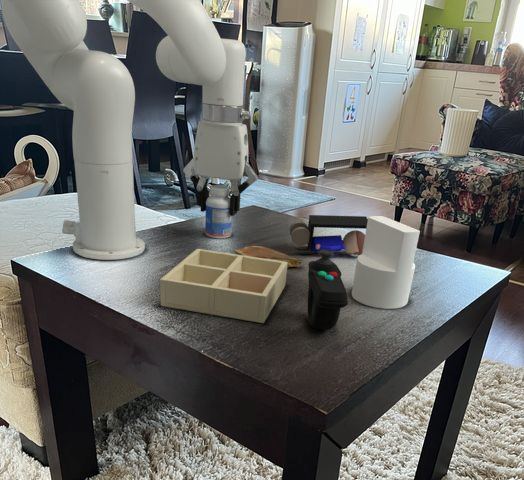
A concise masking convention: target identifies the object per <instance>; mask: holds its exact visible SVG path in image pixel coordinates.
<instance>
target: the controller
mask: <svg viewBox="0 0 524 480" xmlns="http://www.w3.org/2000/svg"><path fill="white" fill-rule="evenodd" d="M334 253H335V252H334V251H330V250H320V251H319V252H318V255H319V256H320V258H318V259H317V260H311V261H308V273H307V278H308V279H307V280H308V289H307V317H308V318H307V319H308V324H309V325H310V326H311V328H313V329H315V330H326V331H327V330H331V329H333V328H335V326H337V323H338V322H339V317H340V314H341V309H344V308H346V307H347V306H348V305H349V299H348V292H347V289H346V287H345V284H344V283H343V280H342V272H341V270H340V268H339V267H338V265H337V264H336V263H335V262H334V261H333V260H332V259H331V257H333V256H335V255H334Z"/></svg>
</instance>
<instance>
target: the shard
mask: <svg viewBox="0 0 524 480" xmlns="http://www.w3.org/2000/svg"><path fill="white" fill-rule="evenodd" d="M234 254H236V255H243V256H250V257H257V258H264V259H270V260H277V261H284V262H288V264H287V268H292V267H293V268H299V267H300V266H301V263H303V260H302V259H301V260H300V259H298V258H296V257H292V256H290V255H287V254H285V253H283V252H280V251H278V250H276V249H272V248H269V247H266V246H262V245H261V246H257V245H250V246H249V245H248V246H245V247H240V248H237V249H235V250H234Z"/></svg>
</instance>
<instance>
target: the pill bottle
mask: <svg viewBox="0 0 524 480" xmlns="http://www.w3.org/2000/svg"><path fill="white" fill-rule="evenodd" d="M230 187H231V186H228V185H224V184H211V185H210V186H209V197H208V198H207V199H206V211H205V221H204V222H205V223H204V224H205V227H204V233H205V236H207V237H210V238H213V239H227V238H229V237H231V236H232V224H233V216H231V215H230V197H229V196H230V194H231V188H230Z"/></svg>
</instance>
